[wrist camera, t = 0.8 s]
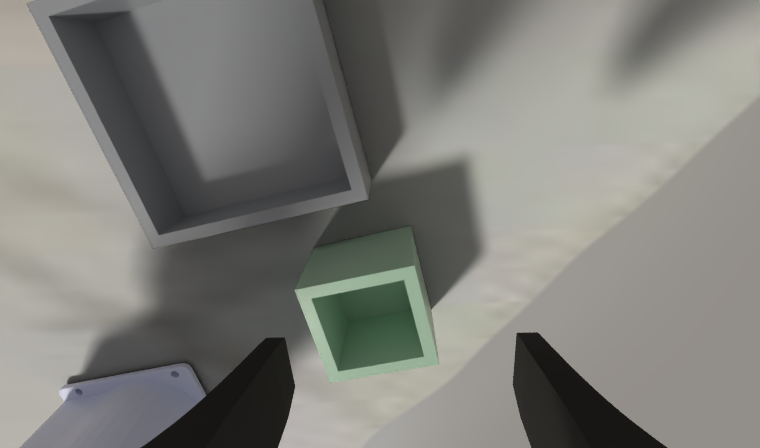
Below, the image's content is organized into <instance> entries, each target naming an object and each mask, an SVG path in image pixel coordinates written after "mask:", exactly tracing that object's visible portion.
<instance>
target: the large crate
mask: <svg viewBox="0 0 760 448" xmlns="http://www.w3.org/2000/svg"><path fill="white" fill-rule="evenodd" d="M26 4H27V6H28V8H29V10H30V12H31V14H32V15H33V17H34V19H35V21H36V23H37V25H38V27H39V29H40V31H41V33H42V35H43V37H44V39H45V41H46V43H47V45H48V46H49V48H50V50H51V52H52V54H53V56H54V58H55V60H56V62H57V64H58V66H59V68H60V70H61V72H62V74H63V76H64V77H65V79H66V81H67V83H68V85H69V87H70V89H71V91H72V93H73V95H74V97H75V99H76V101H77V103H78V105H79V107H80V108H81V110H82V112H83V114H84V116H85V118H86V120H87V122H88V124H89V126H90V128H91V130H92V132H93V134H94V136H95V138H96V139H97V141H98V143H99V145H100V147H101V149H102V151H103V153H104V155H105V157H106V159H107V161H108V163H109V165H110V167H111V169H112V170H113V172H114V174H115V176H116V178H117V180H118V182H119V184H120V186H121V188H122V190H123V192H124V194H125V196H126V198H127V200H128V201H129V203H130V205H131V207H132V209H133V211H134V213H135V215H136V217H137V219H138V221H139V223H140V225H141V227H142V229H143V231H144V232H145V234H146V236H147V238H148V240H149V242H150V244H151V246H152V248H153V249H156V248H160V247H165V246H169V245H173V244H178V243H182V242H186V241H191V240H195V239H199V238H204V237H208V236H212V235H217V234H221V233H225V232H230V231H234V230H238V229H243V228H247V227H251V226H256V225H260V224H264V223H269V222H273V221H277V220H282V219H286V218H290V217H295V216H299V215H303V214H308V213H312V212H316V211H321V210H325V209H329V208H334V207H338V206H342V205H347V204H351V203H355V202H360V201H364V200H368V198H369V193H370V188H371V184H372V179H371V175H370V172H369V168H368V164H367V160H366V157H365V153H364V149H363V146H362V142H361V138H360V135H359V131H358V127H357V123H356V120H355V116H354V112H353V109H352V105H351V101H350V98H349V94H348V90H347V87H346V83H345V79H344V75H343V72H342V68H341V64H340V61H339V57H338V53H337V50H336V46H335V42H334V38H333V35H332V31H331V27H330V24H329V20H328V16H327V13H326V9H325V5H324V1H323V0H35V1H32V2H29V3H26Z"/></svg>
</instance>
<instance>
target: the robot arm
mask: <svg viewBox="0 0 760 448" xmlns="http://www.w3.org/2000/svg"><path fill="white" fill-rule="evenodd" d="M175 371H176V372H177V373H176V372H175ZM513 387H514V391H515V395H516V400H517V404H518V408H519V412H520V416H521V420H522V423H523V425H524V428H525V431H526V433H527V436H528V439H529V442H530V445H531V448H667V447H666V446H664V445H663V444H661V443H660V442H659V441H657V440H656V439H655V438H653V437H652V436H651V435H649V434H648V433H647V432H645V431H644V430H643V429H641V428H640V427H639V426H637V425H636V424H635V423H634V422H632V421H631V420H629V418H627V417H626V416H625V415H624V414H622V413H621V412H620V411H619V410H618V409H616V408H615V407H614V406H613V405H612V404H611V403H609V402H608V401H607V400H606V399H605V398H604V397H603V396H602V395H600V394H599V393H598V392H597V391H596V390H595V389H594V388H593V387H592V386H591V385H589V383H588V382H586V381H585V380H584V379H583V378H582V377H581V376H580V375H579V374H578V373H577V372H576V371H575V370H574V369H573V368H572V367H571V366H570V365H569V364H568V363H567V362H566V361H565V360H564V359H563V358H562V357H561V356H560V355H559V354H558V353H557V352H556V351H555V350H554V349H553V348H552V347H551V346H550V345H549V344H548V342H546V341H545V339H544V338H543V337H542V336H541V335H540V334H539V333H517V337H516V351H515V363H514V376H513ZM294 389H295V384H294V379H293V374H292V370H291V365H290V360H289V355H288V351H287V346H286V341H285V338H266V339H265V340H264V341H262V342H261V343H260V344H259V345H258V346H257V347H256V348H255V349H254V350H253V351H252V352H251V353H250V354H249V355H248V356H247V357H246V358H245V359H244V360H243V361H242V362H241V363H240V364H239V365H238V366H237V367H236V368H235V369H234V370H233V371H232V372H231V373H230V374H229V375H228V376H227V377H226V378H225V379H224V380H223V381H222V382H221V383H220V384H219V385H218V386H216V387H215V388H214V389H213V390H212V391H211V392H210V393H209V394H207V395H206V393H205V391H204V390H203V388H202V386H201V384H200V382H199V380H198V379H197V377H196V375H195V373H194V371H193V369H192V368H191V366H190V365H188V364H186V363H179V364H174V365H169V366H163V367H158V368H153V369H147V370H142V371H137V372H131V373H126V374H121V375H115V376H110V377H105V378H99V379H94V380H89V381H83V382H78V383H73V384H67V385H64V386H63V387H62V388H61V389H60V390H59V395H60V396H61V398H62V399H63V400H64V403H63V404H62V405H61V406H60V407H59V408H58V409H57V410H56V411H55V412H54V413H53V414H52V415H51V416H50V417H49V418H48V419H47V420H46V421H45V422H44V423H43V424H42V426H41V427H40V428H39V429H38V430H37V431H36V432H35V433H34V434H33V435H32V436H31V437H30V438H29V439H28V440H27V441H26V442H25V443H24V444H23V445H22V446H21V447H20V448H278V445H279V443H280V440H281V437H282V434H283V431H284V428H285V425H286V423H287V420H288V416H289V412H290V408H291V403H292V399H293V394H294Z"/></svg>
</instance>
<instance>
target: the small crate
mask: <svg viewBox="0 0 760 448" xmlns="http://www.w3.org/2000/svg"><path fill="white" fill-rule="evenodd" d="M295 293H296V295H297V298H298V301H299V303H300V306H301V308H302V311H303V313H304V316H305V319H306V321H307V324H308V326H309V329H310V332H311V334H312V337H313V339H314V342H315V345H316V347H317V350H318V352H319V355H320V358H321V360H322V363H323V365H324V368H325V370H326V373H327V376H328V378H329V381H330V383H332V382H338V381H344V380H350V379H356V378H362V377H368V376H373V375H379V374H385V373H391V372H397V371H403V370H409V369H414V368H420V367H426V366H432V365H438V364H439V360H438V353H437V346H436V339H435V332H434V325H433V318H432V311H431V306H430V302H429V298H428V294H427V290H426V286H425V282H424V277H423V273H422V269H421V265H420V261H419V257H418V253H417V249H416V245H415V240H414V236H413V232H412V228H411V226H408V227H403V228H399V229H394V230H390V231H385V232H380V233H376V234H371V235H367V236H362V237H358V238H353V239H348V240H344V241H339V242H335V243H330V244H326V245H321V246H316V247H314V248H313V251H312V253H311V255H310V257H309V259H308V262H307V264H306V266H305V268H304V270H303V273H302V275H301V277H300V279H299V281H298V284H297V286H296V288H295Z"/></svg>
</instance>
